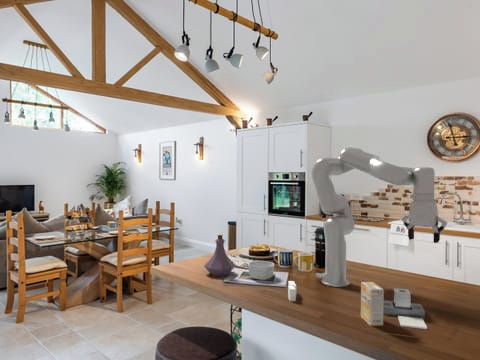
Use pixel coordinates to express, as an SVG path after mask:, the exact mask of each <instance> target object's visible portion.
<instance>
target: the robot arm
mask: <svg viewBox="0 0 480 360" xmlns="http://www.w3.org/2000/svg"><path fill="white" fill-rule="evenodd" d="M352 170H358V171H360V172H363V173H365V174H368V175H369V176H373V177H374V178H376V179H379V180H381V181H384V182H386V183H388V184H391V185H395V186H411V185H413V190H412V191H413V193H412V194H410V195H409V197H410V199H412V200H411V201H410V206H409V210H408V211H409V212H408V215H406V216H403V217H402V218H401V221H402V223H403V225H404V226H405V227H406V229H407V237H408V240H410V241H411V240H414V239H415V230H414V227H419V228H420V227H421V228H432V230H433V231H434V232H433V243H434V244H437V243H439V242H440V240H441V237H440V235H441V232H442V231H443V230H445V228H446V227H447V225H448V221H446V220H445V219H443V218H441V217H439V211H438V206H437V202H436V201H435V177H436V176H435V174H436V173H435V169H434V168H433V167H425V166H424V167H414V168H413V167H408V166H406V167H405V166H399V165H395V164H393V163H389V162H388V161H384V160H382V159H380V157H379V156H378V155H375V154H372V153H369V152H367V151H366V152H365V151H363V149H361V148H357V147H350V146H348V147H345V148H344V149H342V150H341V151H340V153H339V156H338V157H322V158H320V159H319V158H318V160H316V162H315V163H314V164H313V166H312V170H311V177H312V183H313V184H314V188H315V190H316V195H317V199H318V201H319V204H320V205H319V206H320V209H321V211H322V212H323V213H324V214H325V215H332V217H329V218H328V219H326V221H325V222H324V224H323V233H324V239H325V240H324V243H325V244H324V245H325V256H324V257H325V261H324V263H325V267H324V269H325V271H324V272H322V273H320V272H316V273H315V278H318V279H321V283H322V284H323V285H324V286H328V287H332V288H333V287H335V288H344V287H348V286H349V285H350V281H349V280H348V279H347V243H346V237H345V236H347V235H350V234H351V233H353V231H354V230H355V220H354V217H353V214H352V210H351V206H350V203H349V202H348V199H347V198H346V197H345V196H344V195H342V194H338V193H337V192H336V190H335V187H334V184H333V181H332V180H331V178H330V176H340V175H342V174H345V173H348V172H350V171H352ZM439 223H440V224H441V225H440V226H439Z"/></svg>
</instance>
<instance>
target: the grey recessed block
mask: <svg viewBox="0 0 480 360" xmlns="http://www.w3.org/2000/svg"><path fill="white" fill-rule="evenodd" d="M383 315H385V316H396V317H398V316H403V317H412V318H422V319H423V320H426V319H425V318H426V311H425V309H424V307H423V306H422V304H421V303H413V302H411V305H410V309H402V308H394V300H384V302H383Z"/></svg>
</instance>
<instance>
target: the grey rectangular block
mask: <svg viewBox="0 0 480 360" xmlns="http://www.w3.org/2000/svg"><path fill="white" fill-rule="evenodd" d="M411 298H412V297H411V291H410V290H409V289H407V288H395V287H394V289H393V301H394V308H402V309H410V305H411V303H412V302H411V300H412V299H411Z"/></svg>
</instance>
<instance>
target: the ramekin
mask: <svg viewBox="0 0 480 360" xmlns="http://www.w3.org/2000/svg"><path fill="white" fill-rule="evenodd" d="M247 266H248V274H249V275H248V276H249V277H250V278H251V277H252V278H256V279H268V278H271V277H272V278H273V276H274V271H275V270H274V269H275V263H274V262H272V261H266V260H252V261H250V262H248V263H247ZM252 278H251V279H252ZM272 278H271V279H272Z"/></svg>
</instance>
